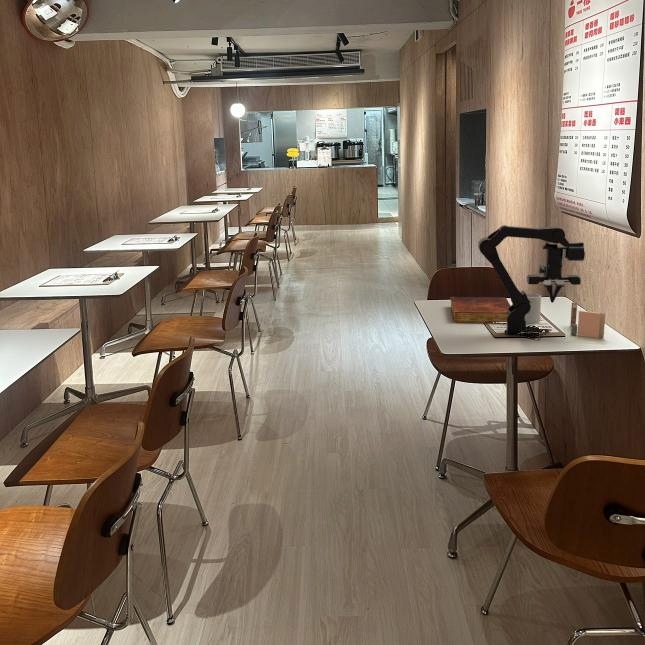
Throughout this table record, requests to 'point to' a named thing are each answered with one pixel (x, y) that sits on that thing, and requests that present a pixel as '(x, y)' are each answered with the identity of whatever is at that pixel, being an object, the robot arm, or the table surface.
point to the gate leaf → (591, 324)
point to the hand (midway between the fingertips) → (552, 302)
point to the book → (479, 309)
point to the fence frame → (573, 319)
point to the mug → (533, 308)
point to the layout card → (581, 338)
